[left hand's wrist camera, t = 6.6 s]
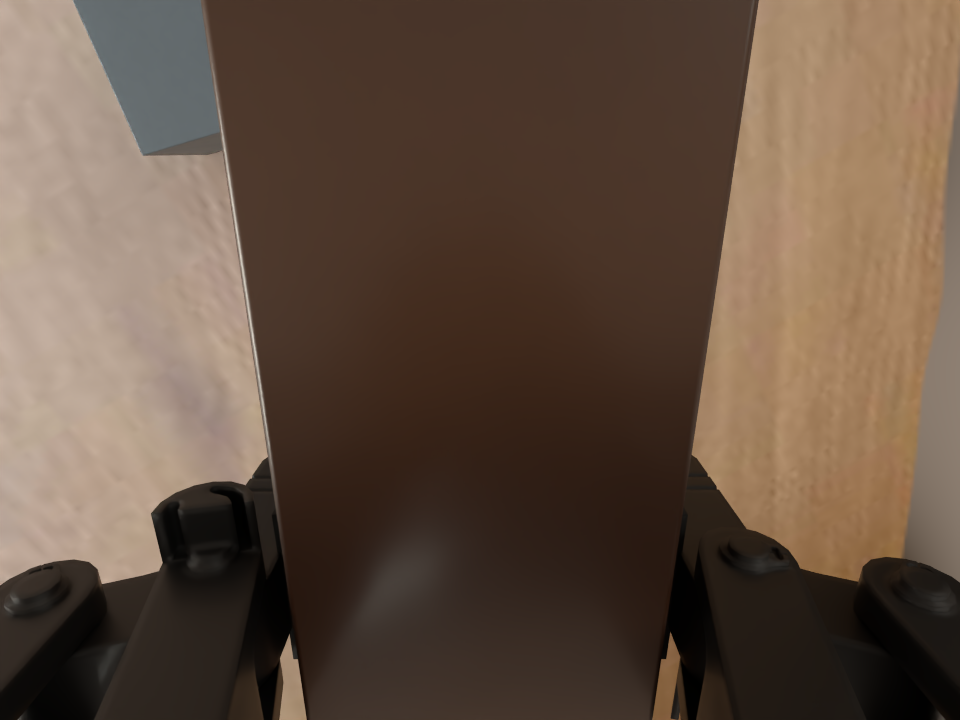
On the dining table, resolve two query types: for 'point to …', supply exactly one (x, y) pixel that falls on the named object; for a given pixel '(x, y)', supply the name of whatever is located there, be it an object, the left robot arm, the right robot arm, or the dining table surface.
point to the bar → (479, 331)
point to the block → (157, 71)
